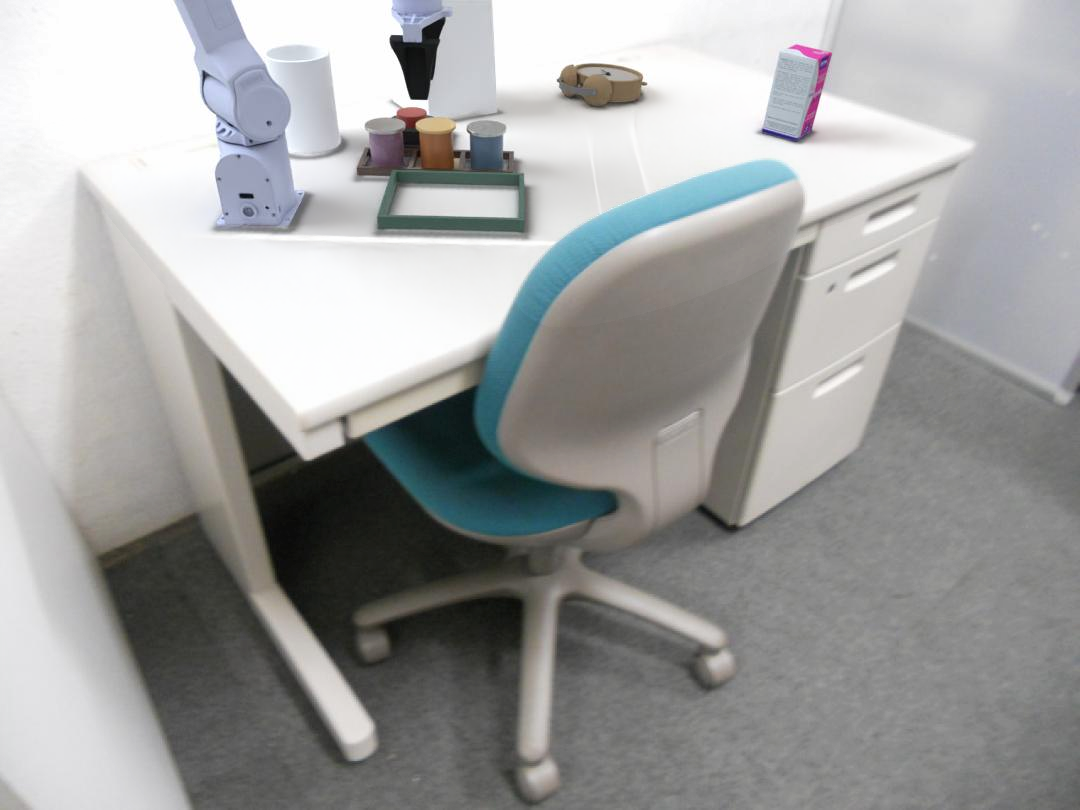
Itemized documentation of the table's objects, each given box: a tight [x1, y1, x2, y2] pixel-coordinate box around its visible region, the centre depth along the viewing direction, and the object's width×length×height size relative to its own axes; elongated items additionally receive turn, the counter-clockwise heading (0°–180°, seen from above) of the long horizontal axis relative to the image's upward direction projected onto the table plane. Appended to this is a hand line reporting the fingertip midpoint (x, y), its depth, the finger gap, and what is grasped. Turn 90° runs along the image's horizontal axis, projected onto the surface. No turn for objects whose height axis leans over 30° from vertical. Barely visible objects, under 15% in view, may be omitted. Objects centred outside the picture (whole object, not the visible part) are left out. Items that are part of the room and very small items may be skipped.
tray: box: [376, 170, 525, 233], centre depth 96 cm, size 13×16×2 cm
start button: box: [396, 107, 427, 128], centre depth 110 cm, size 4×4×2 cm
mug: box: [263, 43, 342, 155], centre depth 108 cm, size 12×8×12 cm
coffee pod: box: [416, 117, 457, 169], centre depth 104 cm, size 5×5×5 cm
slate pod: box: [465, 119, 507, 170], centre depth 104 cm, size 5×5×5 cm
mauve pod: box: [364, 117, 406, 167], centre depth 104 cm, size 5×5×5 cm
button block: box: [390, 114, 433, 149], centre depth 111 cm, size 10×8×3 cm
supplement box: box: [760, 43, 833, 142], centre depth 118 cm, size 6×6×12 cm
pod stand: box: [356, 146, 515, 177], centre depth 105 cm, size 7×20×2 cm, turn 91°
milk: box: [389, 0, 498, 119], centre depth 117 cm, size 12×12×26 cm
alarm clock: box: [556, 62, 648, 107], centre depth 130 cm, size 11×5×15 cm
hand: (422, 89), depth 101 cm, fingers open, 7 cm apart
